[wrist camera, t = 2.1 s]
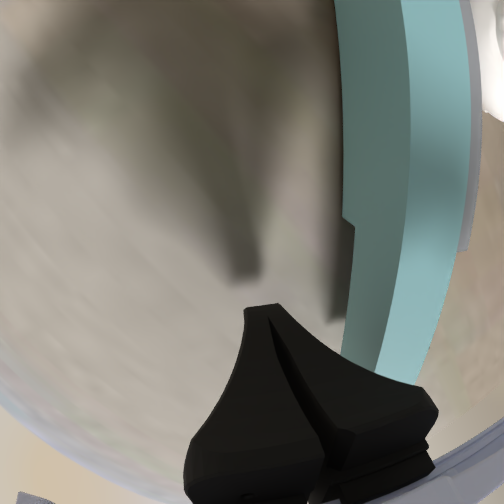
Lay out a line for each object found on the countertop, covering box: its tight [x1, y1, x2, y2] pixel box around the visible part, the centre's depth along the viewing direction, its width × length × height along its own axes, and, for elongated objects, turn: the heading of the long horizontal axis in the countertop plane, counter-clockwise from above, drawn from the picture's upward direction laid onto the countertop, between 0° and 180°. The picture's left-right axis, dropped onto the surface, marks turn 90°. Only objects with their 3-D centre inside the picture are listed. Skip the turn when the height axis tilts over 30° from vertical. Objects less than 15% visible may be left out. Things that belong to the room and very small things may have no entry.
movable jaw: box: [334, 0, 482, 385], centre depth 8 cm, size 3×25×4 cm, turn 3°
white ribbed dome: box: [470, 0, 504, 122], centre depth 7 cm, size 6×6×7 cm
